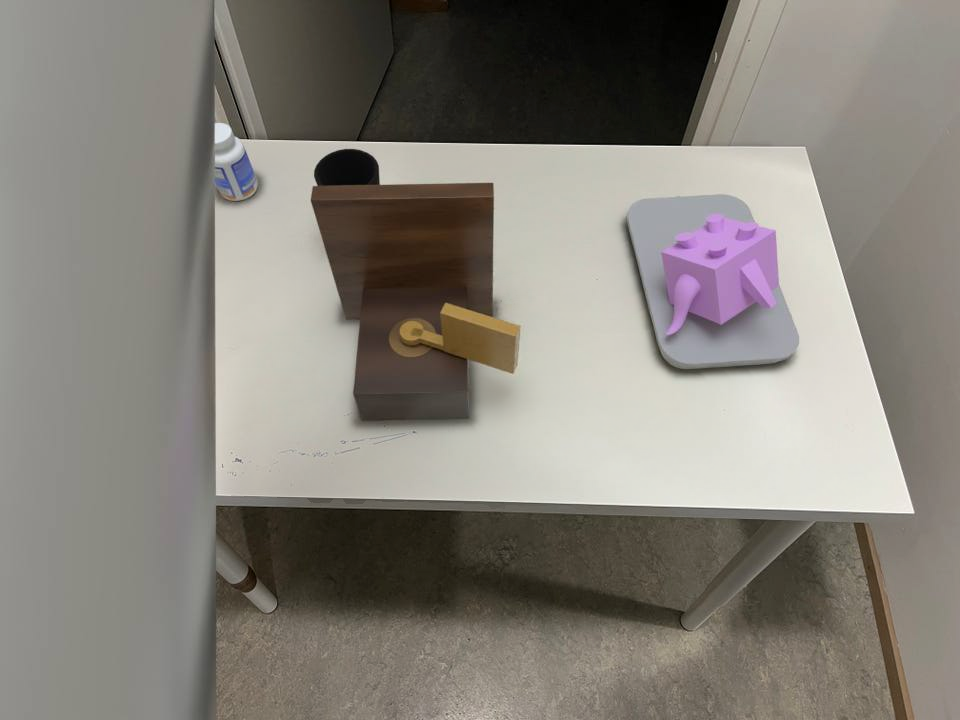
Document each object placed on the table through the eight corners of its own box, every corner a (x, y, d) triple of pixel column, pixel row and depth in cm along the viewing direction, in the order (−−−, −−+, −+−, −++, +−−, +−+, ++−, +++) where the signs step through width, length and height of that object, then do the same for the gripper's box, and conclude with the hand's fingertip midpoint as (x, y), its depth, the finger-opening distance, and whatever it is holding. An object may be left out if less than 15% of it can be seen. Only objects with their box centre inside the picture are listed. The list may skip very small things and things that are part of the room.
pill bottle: (255, 171, 98) (234, 114, 90) (261, 197, 95) (240, 140, 87) (217, 180, 97) (192, 123, 89) (222, 206, 94) (196, 150, 86)
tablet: (738, 205, 93) (743, 192, 91) (799, 366, 79) (807, 356, 77) (620, 212, 93) (623, 199, 91) (661, 375, 79) (665, 365, 77)
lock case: (495, 418, 76) (498, 312, 59) (335, 421, 76) (291, 316, 59) (492, 303, 85) (493, 182, 68) (347, 306, 85) (312, 185, 68)
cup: (333, 220, 93) (314, 150, 82) (389, 216, 93) (377, 145, 83) (332, 264, 88) (313, 196, 78) (391, 259, 89) (379, 190, 79)
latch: (519, 359, 73) (522, 320, 67) (511, 379, 72) (513, 341, 66) (406, 323, 76) (399, 282, 70) (396, 341, 74) (388, 301, 68)
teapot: (830, 208, 72) (830, 286, 77) (731, 188, 82) (738, 258, 88) (707, 288, 67) (717, 366, 72) (618, 256, 77) (633, 326, 82)
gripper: (-50, 116, 28) (173, 397, 48) (51, -52, 35) (209, 255, 55) (-234, 119, 28) (66, 399, 48) (-96, -49, 35) (116, 257, 55)
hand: (142, 322), depth 51 cm, fingers closed
